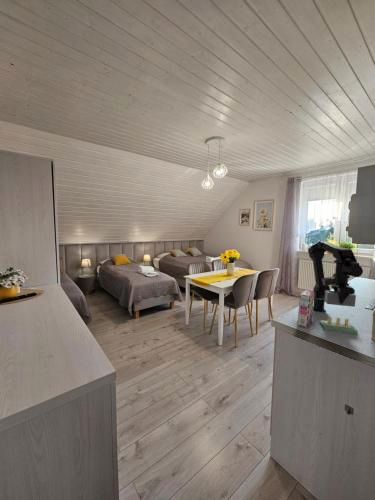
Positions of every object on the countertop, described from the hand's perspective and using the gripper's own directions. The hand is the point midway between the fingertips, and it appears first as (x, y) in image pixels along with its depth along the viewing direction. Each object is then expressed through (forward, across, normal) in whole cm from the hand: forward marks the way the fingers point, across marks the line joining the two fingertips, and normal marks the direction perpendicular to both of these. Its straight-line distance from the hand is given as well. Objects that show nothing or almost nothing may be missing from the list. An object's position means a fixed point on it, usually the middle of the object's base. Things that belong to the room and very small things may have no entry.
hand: (339, 301), depth 116 cm
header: (+11, +8, -2) cm, 14 cm away
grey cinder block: (+1, 0, 0) cm, 1 cm away
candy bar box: (+11, +7, -17) cm, 22 cm away
